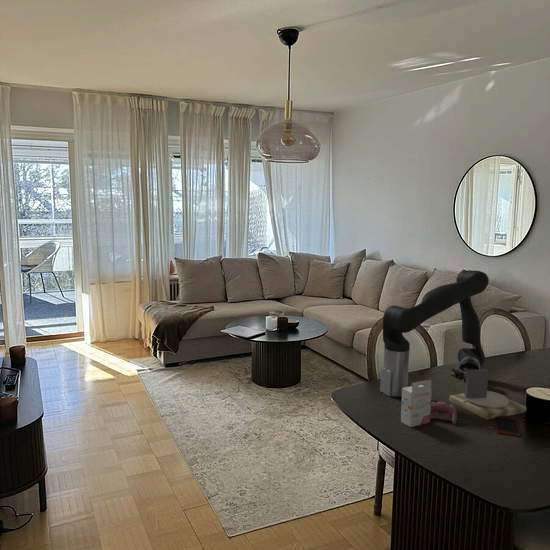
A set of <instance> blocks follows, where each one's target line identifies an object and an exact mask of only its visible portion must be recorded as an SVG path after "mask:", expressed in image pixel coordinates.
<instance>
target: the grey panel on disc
mask: <svg viewBox="0 0 550 550" xmlns="http://www.w3.org/2000/svg"><path fill="white" fill-rule="evenodd" d="M489 371H490V370H488V369H486V368H485V369H484V368H483V369H480V370H467V371H466V384H465V386H464V393H465V398H467V400H468V401H470V402H471V403H474V404H476V405H479V406H484V407H490V408H502V407H506V406H508V403H509V400H510V398H508V397H507V396H505V395H503V394H501V393H499V392H495V391H491V390H488V384H489V383H488V382H489ZM487 390H488V391H487Z"/></svg>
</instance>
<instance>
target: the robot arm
mask: <svg viewBox="0 0 550 550" xmlns="http://www.w3.org/2000/svg"><path fill="white" fill-rule="evenodd" d="M489 282H490V281H489V277H488V275H487V273H485V272H484V271H481V270H472V269H471V270H470V269H468V270H465V269H464V270H461V271H460V272H459V273H458V274H457V277H456V282H454V283H448V284H444V285H443V284H442V285H440V286H437V287H435V288H432V289H431V290H429V291H427V292H426V293H425V294H424V295H423V297H422V299H421V302H420V303H419V304H417V305H415V306H412V307H403V306H398V305H390V306H388V307H387V308H386V309H384V313H383V317H382V340H383V343H384V349H383V351H384V352H383V365H382V367H381V368H380V384H379V385H380V386H379V391H380V393H382V392H383V394H384V395H386V396H388V397H396V398H397V397H399V398H400V397H401V398H402V388H405V387H408V384H409V383H408V381H409V380H408V379H409V365H410V363H409V362H410V347H411V344H410V341H409V340H407V338H405V336H404V334H408V333H410V332H411V331H413V330H414V329H417V327H419V326H420V325H422V324H423V323H425V322H426V321H428V320H429V319H431V318H433V317H434V316H437V315H438V314H440V313H443V312H444V311H446V310H448V309H450V308H451V307H454V306H455V305H457V304H458V303H459V307H460V314H461V340H462V342H463V343H465V344H470V345H472V346H473V347H474V348H468V347H467V348H466V347H465V348H464V347H463V348H461V349H459V350H458V352H457V361H458V363H459V367H458V368H457V369H456V368H451V371H450V375H451V377H453V378H455V379H456V380H459V381H463V383H465V384H466V371H467V370H481V366H483V365H484V363H485V361H486V356H485V352H484V350H483V347H482V342H481V341H482V340H481V322H480V319H479V316H478V314H477V312H476V311H475V308H474V306H473V302H472V299H471V297H473V296H476V295H479V294H481V293H483V292H484V291H486V289H487V288H488V286H489Z"/></svg>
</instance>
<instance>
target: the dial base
mask: <svg viewBox="0 0 550 550" xmlns="http://www.w3.org/2000/svg"><path fill="white" fill-rule="evenodd" d="M487 391H489V389H487ZM448 401H449V402H451V403H453V404H455V405H457V406H458V407H461V408H463V409H465V410H467V411H469V412H470V413H472V414H475V415H477V416H479V417H481V418H482V419H484V420H487V421H488V420H494V417H497V416H505V417H510V416H514V415H519V414H524V412H525V411H526V412H527V406H525V405H523V404H521V403H520V402H516V401H514V400H512V399H509V403H508V406H506V407H502V408H490V407H484V406H479V405H476V404H474V403H471V402H470V401H468V400H467V398H465V392H463V393H459V394H452V395H451V394H449V399H448ZM526 412H525V413H526Z"/></svg>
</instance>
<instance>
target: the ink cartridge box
mask: <svg viewBox="0 0 550 550" xmlns="http://www.w3.org/2000/svg"><path fill="white" fill-rule="evenodd" d="M432 391H433V389H432V380H431V379H428V380H421V381H416V382H412V383H411V385H410V386H407V387H405V388H402V396H401V406H400V407H401V408H400V423H402V424H404V425H405V426H408V427H410V428H413V427H417V426H422V425H425V424H429V423H430V422H431V416H430V410H431V402H432V393H433V392H432Z"/></svg>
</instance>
